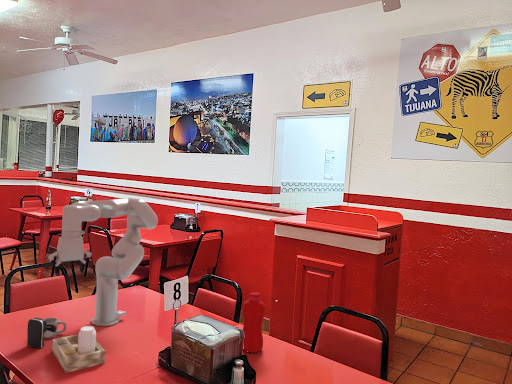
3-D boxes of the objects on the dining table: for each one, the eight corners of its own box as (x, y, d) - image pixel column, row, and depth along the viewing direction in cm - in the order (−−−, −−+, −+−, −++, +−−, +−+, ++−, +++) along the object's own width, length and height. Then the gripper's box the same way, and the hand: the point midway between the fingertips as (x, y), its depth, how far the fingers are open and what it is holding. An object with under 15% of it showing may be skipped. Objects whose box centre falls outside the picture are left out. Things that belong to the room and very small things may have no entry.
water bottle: (248, 341, 186) (252, 287, 184) (265, 350, 178) (269, 294, 176) (233, 346, 179) (237, 290, 178) (250, 355, 171) (254, 297, 170)
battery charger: (47, 345, 167) (48, 318, 167) (40, 349, 164) (41, 321, 163) (33, 342, 169) (34, 315, 169) (26, 346, 166) (27, 318, 165)
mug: (39, 339, 173) (40, 323, 172) (41, 332, 179) (41, 318, 179) (65, 337, 177) (66, 322, 176) (66, 330, 183) (67, 316, 182)
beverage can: (97, 359, 157) (98, 329, 156) (81, 364, 153) (82, 332, 152) (90, 353, 161) (92, 323, 161) (74, 357, 157) (76, 327, 156)
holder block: (88, 343, 172) (88, 331, 171) (104, 363, 156) (105, 350, 156) (52, 351, 163) (52, 338, 163) (65, 373, 147) (66, 358, 147)
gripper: (89, 231, 181) (87, 269, 182) (47, 233, 170) (45, 273, 171) (95, 234, 175) (93, 273, 177) (51, 236, 165) (49, 278, 166)
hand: (69, 273), depth 174 cm, fingers open, 9 cm apart
